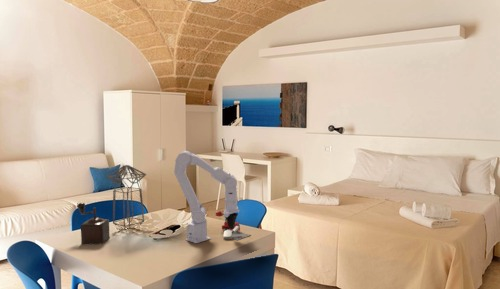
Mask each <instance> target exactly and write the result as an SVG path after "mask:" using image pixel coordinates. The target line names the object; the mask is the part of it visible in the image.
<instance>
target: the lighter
mask: <svg viewBox="0 0 500 289" xmlns="http://www.w3.org/2000/svg"><path fill="white" fill-rule="evenodd" d="M238 230H239V226H236V227H235V228H234V229H233V230H232V231H230V230H224V231H223V235H222V238H223V240H233V239H232V234H233V233H234V234H235V233H236V232H237V231H238ZM238 232H239V231H238Z"/></svg>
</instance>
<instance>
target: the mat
mask: <svg viewBox="0 0 500 289" xmlns="http://www.w3.org/2000/svg"><path fill="white" fill-rule="evenodd" d="M247 236H248V237H251V236H252V235H251V234H248V233H245V232H241V231H237V232H236V233H235V234H234V233H233V234H232V239H231V240H234V241H240V240H242V239H245V238H247ZM239 239H240V240H239Z"/></svg>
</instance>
